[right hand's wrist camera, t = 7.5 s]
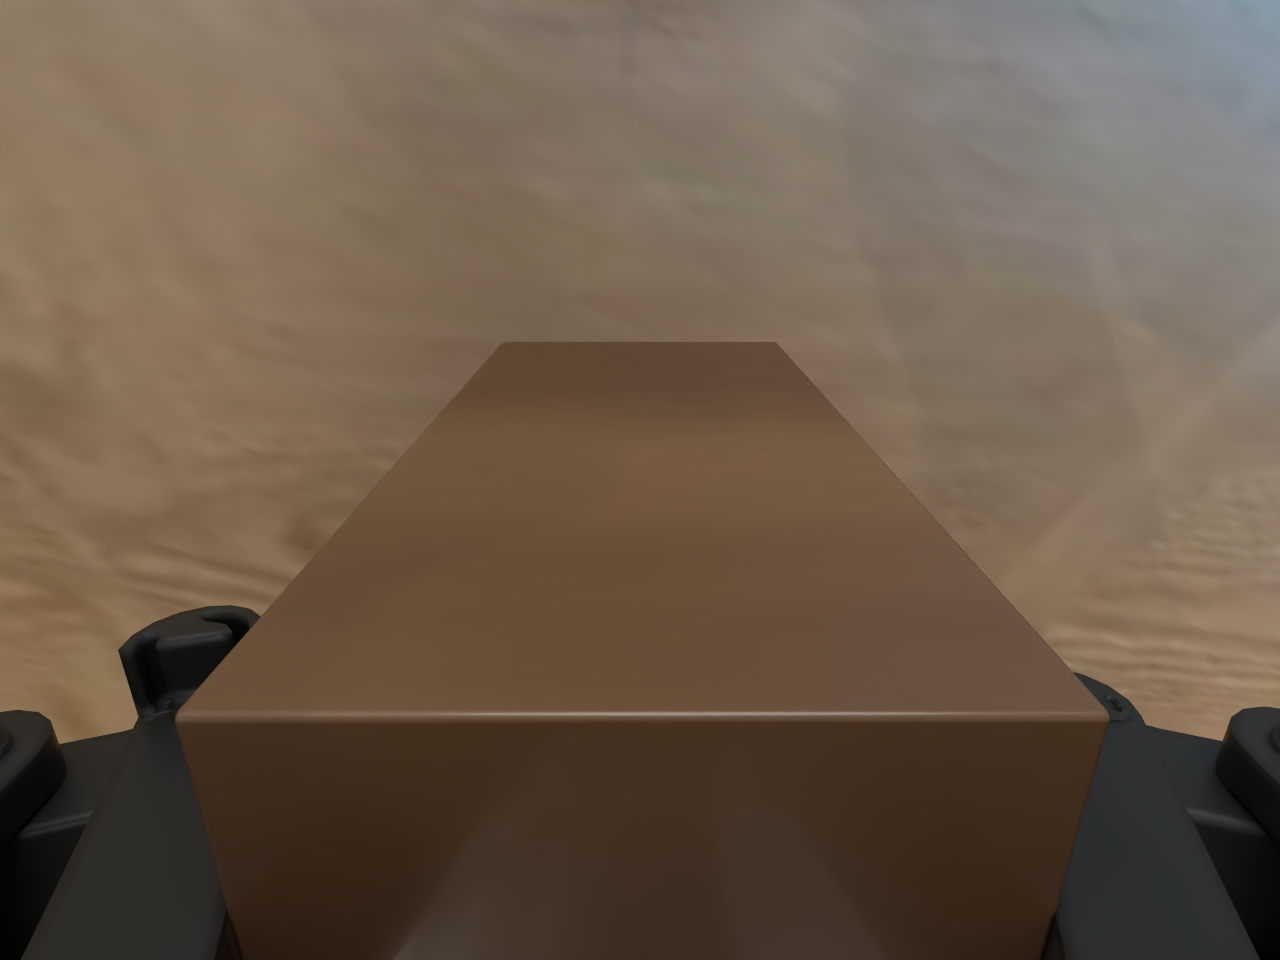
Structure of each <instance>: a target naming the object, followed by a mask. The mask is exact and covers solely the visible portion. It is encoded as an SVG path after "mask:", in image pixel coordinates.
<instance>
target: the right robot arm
mask: <svg viewBox="0 0 1280 960" xmlns="http://www.w3.org/2000/svg"><path fill="white" fill-rule="evenodd" d="M260 617H261V616H259V615H258V614H256V613H255V612H254V611H252V610H251V609H248V608H242V607H237V606H232V605H229V606H208V607H203V608H198V609H193V610H189V611H184V612H180V613H177V614H175V615H172V616H169V617H167V618H164V619H161V620H159V621H156V622H154V623H152V624H150V625H149V626H147V627H145V628H144V629H142V630H140V631H139V632H137V633H135V634H134V635H132V636H131V637H130V638H129V639H128V640H127V641H126V642H125V643H124V644H123V645H122V647H121V648H120V649H119V650H118V651H119V654H120V658H121V661H122V664H123V667H124V671H125V674H126V677H127V681H128V684H129V687H130V690H131V694H132V697H133V700H134V703H135V707H136V710H137V713H138V716H139V718H138V720H137V722H136V724H135V726H134V728H133V729H131V730H127V731H123V732H118V733H113V734H108V735H103V736H98V737H93V738H89V739H84V740H79V741H74V742H69V743H64V744H59V743H58V740H57V737H56V734H55V732H54V729H53V726H52V723H51V721H50V720H49V719H48V718H46V717H45V716H43V715H42V714H40V713H39V712H32V711H22V710H13V711H6V712H0V960H241V958H240V955H239V951H238V947H237V944H236V940H235V937H234V933H233V929H232V926H231V922H230V919H229V915H228V911H227V908H226V904H225V901H224V897H223V894H222V890H221V886H220V883H219V879H218V876H217V872H216V868H215V865H214V861H213V858H212V854H211V851H210V847H209V843H208V840H207V836H206V833H205V829H204V825H203V822H202V818H201V815H200V811H199V807H198V804H197V800H196V797H195V793H194V790H193V786H192V782H191V779H190V775H189V772H188V768H187V764H186V761H185V757H184V754H183V750H182V746H181V743H180V739H179V736H178V732H177V729H176V725H175V718H176V714H177V712H178V710H179V709H180V708H181V707H182V706H183V705H184V704H185V703H186V701H187V700H188V699H189V698H190V697H191V696H192V695H193V693H194V692H195V691H196V690H197V689H198V688H199V687H200V686H201V684H202V683H203V682H204V681H205V680H206V679H207V678H208V676H209V675H210V674H211V673H212V672H213V671H214V670H215V668H216V667H217V666H218V665H219V664H220V663H221V662H222V661H223V659H224V658H225V657H226V656H227V655H228V654H229V653H230V651H231V650H232V649H233V648H234V647H235V646H236V645H237V644H238V642H239V641H240V640H241V639H242V638H243V637H244V636H245V634H246V633H247V632H248V631H249V630H250V629H251V628H252V626H253V625H254V624H255V623H256V622H257V621H258V620H259V619H260ZM1073 673H1074V672H1073ZM1074 674H1075V675H1076V676H1077V678H1078V679H1079V680H1080V681H1081V682H1082V683H1083V684H1084V685H1085V686H1086V688H1087V689H1088V690H1089V691H1090V692H1091V693H1092V694H1093V695H1094V696H1095V698H1096V699H1097V700H1098V701H1099V702H1100V703H1101V704H1102V705H1103V706H1104V708H1105V709H1106V710H1107V711H1108V714H1109V719H1110V723H1109V726H1108V730H1107V733H1106V737H1105V741H1104V744H1103V748H1102V751H1101V755H1100V758H1099V762H1098V765H1097V769H1096V772H1095V776H1094V779H1093V783H1092V786H1091V790H1090V794H1089V797H1088V801H1087V804H1086V808H1085V811H1084V815H1083V818H1082V822H1081V825H1080V829H1079V832H1078V836H1077V839H1076V843H1075V846H1074V850H1073V854H1072V857H1071V861H1070V864H1069V868H1068V871H1067V875H1066V878H1065V882H1064V885H1063V889H1062V892H1061V896H1060V899H1059V903H1058V907H1057V910H1056V913H1055V916H1054V920H1053V923H1052V927H1051V930H1050V934H1049V937H1048V941H1047V944H1046V948H1045V952H1044V955H1043V959H1042V960H1280V709H1278V708H1271V707H1257V708H1247V709H1242V710H1241V711H1240V712H1238V713H1237V714H1235V715H1234V716H1232V717H1231V720H1230V722H1229V725H1228V728H1227V731H1226V733H1225V736H1224V739H1223V741H1218V740H1214V739H1209V738H1204V737H1199V736H1194V735H1189V734H1184V733H1179V732H1174V731H1169V730H1164V729H1159V728H1155V727H1151V726H1147V725H1146V724H1145V722H1144V720H1143V718H1142V716H1141V715H1140V714H1139V712H1138V711H1137V710H1136V709H1135V707H1134V706H1133V705H1132V704H1131V702H1130V701H1129V700H1128V699H1126V698H1125V697H1123V696H1122V695H1121V694H1119V693H1118V692H1116V691H1115V690H1114V689H1112V688H1111V687H1109V686H1108V685H1105V684H1103V683H1101V682H1099V681H1096V680H1094V679H1092V678H1090V677H1087V676H1085V675H1082V674H1078V673H1074Z"/></svg>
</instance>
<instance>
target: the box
mask: <svg viewBox="0 0 1280 960" xmlns="http://www.w3.org/2000/svg"><path fill="white" fill-rule="evenodd" d="M1109 723H1110V719H1109V714H1108V711H1107V710H1106V709H1105V708H1104V706H1103V705H1102V704H1101V703H1100V702H1099V701H1098V700H1097V699H1096V698H1095V696H1094V695H1093V694H1092V693H1091V692H1090V691H1089V690H1088V689H1087V688H1086V686H1085V685H1084V684H1083V683H1082V682H1081V681H1080V680H1079V679H1078V678H1077V676H1076V675H1075V674H1074V673H1073V672H1072V671H1071V670H1070V669H1069V668H1068V666H1067V665H1066V664H1065V663H1064V662H1063V661H1062V660H1061V659H1060V658H1059V656H1058V655H1057V654H1056V653H1055V652H1054V651H1053V650H1052V649H1051V648H1050V646H1049V645H1048V644H1047V643H1046V642H1045V641H1044V640H1043V639H1042V638H1041V636H1040V635H1039V634H1038V633H1037V632H1036V631H1035V630H1034V629H1033V628H1032V626H1031V625H1030V624H1029V623H1028V622H1027V621H1026V620H1025V619H1024V618H1023V616H1022V615H1021V614H1020V613H1019V612H1018V611H1017V610H1016V609H1015V608H1014V606H1013V605H1012V604H1011V603H1010V602H1009V601H1008V600H1007V599H1006V598H1005V596H1004V595H1003V594H1002V593H1001V592H1000V591H999V590H998V589H997V588H996V586H995V585H994V584H993V583H992V582H991V581H990V580H989V579H988V578H987V576H986V575H985V574H984V573H983V572H982V571H981V570H980V569H979V568H978V566H977V565H976V564H975V563H974V562H973V561H972V560H971V559H970V558H969V556H968V555H967V554H966V553H965V552H964V551H963V550H962V549H961V548H960V546H959V545H958V544H957V543H956V542H955V541H954V540H953V539H952V538H951V536H950V535H949V534H948V533H947V532H946V531H945V530H944V529H943V528H942V526H941V525H940V524H939V523H938V522H937V521H936V520H935V519H934V518H933V516H932V515H931V514H930V513H929V512H928V511H927V510H926V509H925V508H924V506H923V505H922V504H921V503H920V502H919V501H918V500H917V499H916V498H915V496H914V495H913V494H912V493H911V492H910V491H909V490H908V489H907V487H906V486H905V485H904V484H903V483H902V482H901V481H900V480H899V479H898V477H897V476H896V475H895V474H894V473H893V472H892V471H891V470H890V469H889V467H888V466H887V465H886V464H885V463H884V462H883V461H882V460H881V459H880V457H879V456H878V455H877V454H876V453H875V452H874V451H873V450H872V449H871V447H870V446H869V445H868V444H867V443H866V442H865V441H864V440H863V439H862V437H861V436H860V435H859V434H858V433H857V432H856V431H855V430H854V429H853V427H852V426H851V425H850V424H849V423H848V422H847V421H846V420H845V419H844V417H843V416H842V415H841V414H840V413H839V412H838V411H837V410H836V409H835V407H834V406H833V405H832V404H831V403H830V402H829V401H828V400H827V399H826V397H825V396H824V395H823V394H822V393H821V392H820V391H819V390H818V389H817V387H816V386H815V385H814V384H813V383H812V382H811V381H810V380H809V379H808V377H807V376H806V375H805V374H804V373H803V372H802V371H801V370H800V369H799V367H798V366H797V365H796V364H795V363H794V362H793V361H792V360H791V359H790V357H789V356H788V355H787V354H786V353H785V352H784V351H783V350H782V349H781V347H780V346H779V345H778V344H777V343H775V342H504V343H502V344H501V345H500V346H499V347H498V348H497V350H496V351H495V352H494V353H493V354H492V355H491V356H490V357H489V359H488V360H487V361H486V362H485V363H484V364H483V365H482V367H481V368H480V369H479V370H478V371H477V372H476V373H475V374H474V376H473V377H472V378H471V379H470V380H469V381H468V382H467V384H466V385H465V386H464V387H463V388H462V389H461V390H460V392H459V393H458V394H457V395H456V396H455V397H454V398H453V399H452V401H451V402H450V403H449V404H448V405H447V406H446V407H445V409H444V410H443V411H442V412H441V413H440V414H439V415H438V416H437V418H436V419H435V420H434V421H433V422H432V423H431V424H430V426H429V427H428V428H427V429H426V430H425V431H424V432H423V434H422V435H421V436H420V437H419V438H418V439H417V440H416V441H415V443H414V444H413V445H412V446H411V447H410V448H409V449H408V451H407V452H406V453H405V454H404V455H403V456H402V457H401V458H400V460H399V461H398V462H397V463H396V464H395V465H394V466H393V468H392V469H391V470H390V471H389V472H388V473H387V474H386V476H385V477H384V478H383V479H382V480H381V481H380V482H379V483H378V485H377V486H376V487H375V488H374V489H373V490H372V491H371V493H370V494H369V495H368V496H367V497H366V498H365V499H364V500H363V502H362V503H361V504H360V505H359V506H358V507H357V508H356V510H355V511H354V512H353V513H352V514H351V515H350V516H349V518H348V519H347V520H346V521H345V522H344V523H343V524H342V525H341V527H340V528H339V529H338V530H337V531H336V532H335V533H334V535H333V536H332V537H331V538H330V539H329V540H328V541H327V542H326V544H325V545H324V546H323V547H322V548H321V549H320V550H319V552H318V553H317V554H316V555H315V556H314V557H313V558H312V560H311V561H310V562H309V563H308V564H307V565H306V566H305V567H304V569H303V570H302V571H301V572H300V573H299V574H298V575H297V577H296V578H295V579H294V580H293V581H292V582H291V583H290V584H289V586H288V587H287V588H286V589H285V590H284V591H283V592H282V594H281V595H280V596H279V597H278V598H277V599H276V600H275V602H274V603H273V604H272V605H271V606H270V607H269V608H268V609H267V611H266V612H265V613H264V614H263V615H262V616H261V617H260V619H259V620H258V621H257V622H256V623H255V624H254V625H253V626H252V628H251V629H250V630H249V631H248V632H247V633H246V634H245V636H244V637H243V638H242V639H241V640H240V641H239V642H238V644H237V645H236V646H235V647H234V648H233V649H232V650H231V651H230V653H229V654H228V655H227V656H226V657H225V658H224V659H223V661H222V662H221V663H220V664H219V665H218V666H217V667H216V668H215V670H214V671H213V672H212V673H211V674H210V675H209V676H208V678H207V679H206V680H205V681H204V682H203V683H202V684H201V686H200V687H199V688H198V689H197V690H196V691H195V692H194V693H193V695H192V696H191V697H190V698H189V699H188V700H187V701H186V703H185V704H184V705H183V706H182V707H181V708H180V709H179V710H178V712H177V714H176V718H175V725H176V729H177V732H178V736H179V739H180V743H181V746H182V750H183V754H184V757H185V761H186V764H187V768H188V772H189V775H190V779H191V782H192V786H193V790H194V793H195V797H196V800H197V804H198V807H199V811H200V815H201V818H202V822H203V825H204V829H205V833H206V836H207V840H208V843H209V847H210V851H211V854H212V858H213V861H214V865H215V868H216V872H217V876H218V879H219V883H220V886H221V890H222V894H223V897H224V901H225V904H226V908H227V911H228V915H229V919H230V922H231V926H232V929H233V933H234V937H235V940H236V944H237V947H238V951H239V955H240V958H241V960H1042V959H1043V955H1044V952H1045V948H1046V944H1047V941H1048V937H1049V934H1050V930H1051V927H1052V923H1053V920H1054V916H1055V913H1056V910H1057V907H1058V903H1059V899H1060V896H1061V892H1062V889H1063V885H1064V882H1065V878H1066V875H1067V871H1068V868H1069V864H1070V861H1071V857H1072V854H1073V850H1074V846H1075V843H1076V839H1077V836H1078V832H1079V829H1080V825H1081V822H1082V818H1083V815H1084V811H1085V808H1086V804H1087V801H1088V797H1089V794H1090V790H1091V786H1092V783H1093V779H1094V776H1095V772H1096V769H1097V765H1098V762H1099V758H1100V755H1101V751H1102V748H1103V744H1104V741H1105V737H1106V733H1107V730H1108V726H1109Z"/></svg>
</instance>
